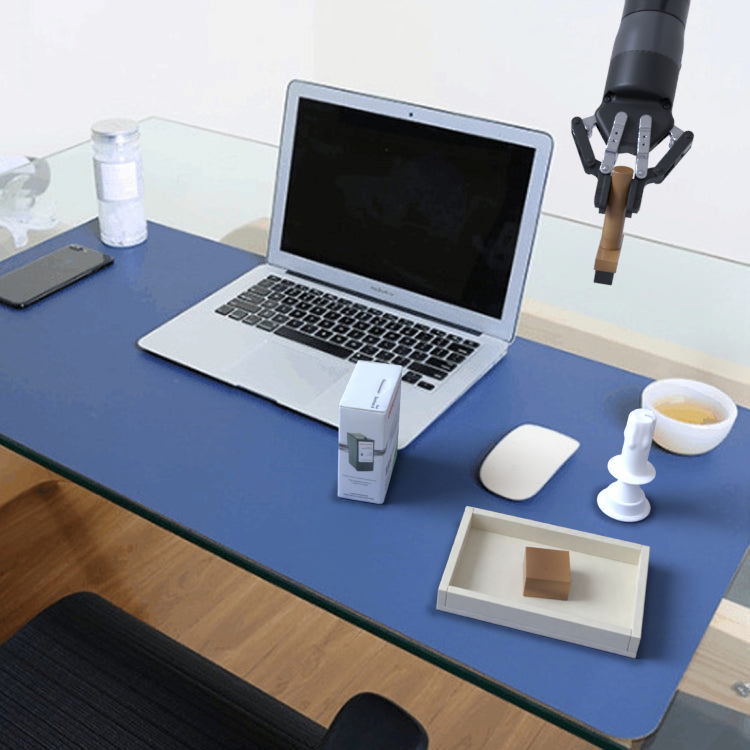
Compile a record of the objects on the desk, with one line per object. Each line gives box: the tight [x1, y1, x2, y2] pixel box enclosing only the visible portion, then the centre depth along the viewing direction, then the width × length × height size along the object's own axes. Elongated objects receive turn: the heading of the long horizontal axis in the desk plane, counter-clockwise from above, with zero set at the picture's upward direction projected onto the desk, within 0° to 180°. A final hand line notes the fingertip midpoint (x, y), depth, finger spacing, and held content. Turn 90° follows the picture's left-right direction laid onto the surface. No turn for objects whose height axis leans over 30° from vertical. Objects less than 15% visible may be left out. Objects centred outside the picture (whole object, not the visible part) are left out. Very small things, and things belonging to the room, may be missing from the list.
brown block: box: [523, 547, 571, 601], centre depth 91 cm, size 4×4×2 cm
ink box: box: [337, 359, 403, 505], centre depth 101 cm, size 9×5×12 cm, turn 168°
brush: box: [593, 165, 635, 286], centre depth 109 cm, size 2×7×12 cm, turn 163°
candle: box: [596, 408, 657, 523], centre depth 99 cm, size 5×5×12 cm
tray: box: [435, 505, 651, 659], centre depth 92 cm, size 18×12×3 cm, turn 73°
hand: (615, 212), depth 107 cm, fingers closed on brush, 2 cm apart
